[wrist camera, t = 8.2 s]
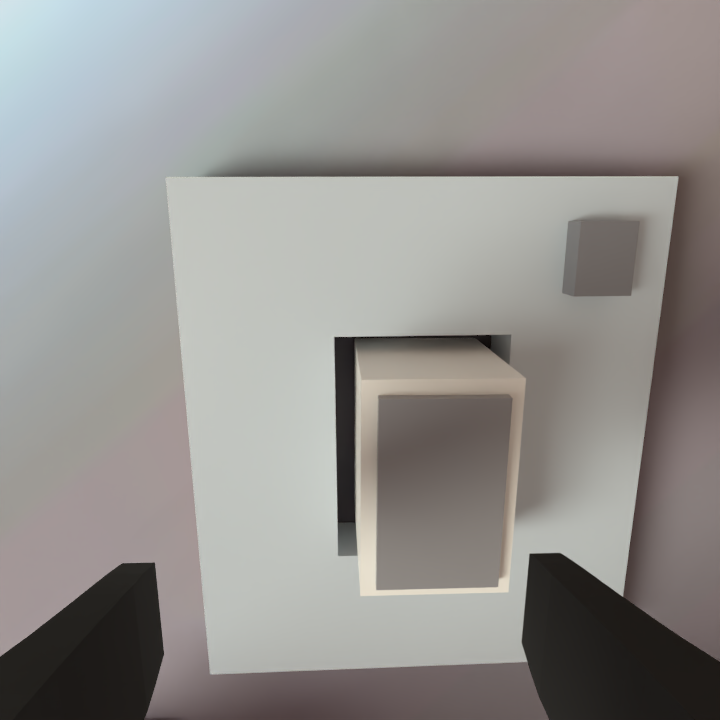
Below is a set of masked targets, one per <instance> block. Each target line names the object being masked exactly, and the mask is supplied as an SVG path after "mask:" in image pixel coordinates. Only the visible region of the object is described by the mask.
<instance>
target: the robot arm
mask: <svg viewBox="0 0 720 720" xmlns="http://www.w3.org/2000/svg"><path fill="white" fill-rule="evenodd" d="M521 643H522V646H523V649H524V652H525V655H526V658H527V662H528V665H529V668H530V671H531V674H532V677H533V680H534V683H535V686H536V689H537V692H538V695H539V697H540V700H541V702H542V704H543V706H544V709H545V711H546V713H547V715H548V718H549V720H720V662H719V661H717V660H716V659H714V658H713V657H711V656H710V655H708V654H707V653H705V652H703V651H702V650H700V649H699V648H697V647H696V646H694V645H692V644H691V643H689V642H688V641H686V640H685V639H683V638H682V637H680V636H679V635H677V634H676V633H674V632H673V631H671V630H670V629H668V628H667V627H665V626H664V625H662V624H661V623H659V622H658V621H656V620H655V619H653V618H652V617H651V616H649V615H648V614H646V613H645V612H643V611H642V610H641V609H639V608H638V607H636V606H635V605H634V604H632V603H631V602H629V601H628V600H627V599H625V598H624V597H622V596H621V595H620V594H618V593H617V592H615V591H614V590H613V589H611V588H610V587H609V586H607V585H606V584H604V583H603V582H602V581H600V580H599V579H597V578H596V577H595V576H593V575H592V574H591V573H589V572H588V571H586V570H585V569H584V568H582V567H581V566H579V565H578V564H577V563H575V562H574V561H572V560H571V559H569V558H568V557H566V556H565V555H563V554H561V553H531V554H529V564H528V576H527V587H526V598H525V609H524V620H523V631H522V642H521ZM163 656H164V650H163V640H162V630H161V620H160V610H159V600H158V590H157V580H156V570H155V563H123V564H121V565H119V566H118V567H117V568H115V569H114V570H112V571H111V572H110V573H108V574H107V575H106V576H104V577H103V578H102V579H101V580H99V581H98V582H97V583H96V584H94V585H93V586H92V587H90V588H89V589H88V590H87V591H85V592H84V593H83V594H82V595H80V596H79V597H78V598H77V599H75V600H74V601H73V602H72V603H70V604H69V605H68V606H67V607H65V608H64V609H63V610H61V611H60V612H59V613H58V614H56V615H55V616H54V617H52V618H51V619H50V620H49V621H47V622H46V623H45V624H43V625H42V626H41V627H40V628H38V629H37V630H36V631H34V632H33V633H32V634H31V635H29V636H28V637H27V638H25V639H24V640H23V641H21V642H20V643H18V644H17V645H16V646H14V647H13V648H12V649H10V650H9V651H7V652H6V653H5V654H3V655H2V656H0V720H144V718H145V716H146V713H147V711H148V708H149V704H150V701H151V698H152V694H153V691H154V688H155V684H156V681H157V677H158V674H159V670H160V666H161V663H162V659H163Z"/></svg>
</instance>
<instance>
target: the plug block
mask: <svg viewBox="0 0 720 720" xmlns="http://www.w3.org/2000/svg"><path fill="white" fill-rule="evenodd" d="M525 386H526V378H525V377H524V376H522V375H521V374H520V373H519V372H517V371H516V370H515V369H514V368H512V367H511V366H510V365H509V364H507V363H506V362H505V361H504V360H502V359H501V358H500V357H498V356H497V355H496V354H495V353H493V352H492V351H491V350H490V349H488V348H487V347H486V346H485V345H483V344H482V343H481V342H479V341H478V340H477V339H476V338H355V402H354V505H355V521H356V536H357V552H358V567H359V583H360V596H387V595H426V594H465V593H504V592H509V580H510V568H511V556H512V544H513V532H514V520H515V507H516V495H517V483H518V471H519V459H520V447H521V434H522V422H523V410H524V398H525Z"/></svg>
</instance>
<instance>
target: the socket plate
mask: <svg viewBox="0 0 720 720" xmlns="http://www.w3.org/2000/svg"><path fill="white" fill-rule="evenodd" d="M678 177H679V176H494V177H166V187H167V198H168V209H169V221H170V232H171V243H172V254H173V265H174V276H175V288H176V299H177V310H178V321H179V332H180V344H181V355H182V366H183V377H184V388H185V399H186V411H187V422H188V433H189V444H190V455H191V467H192V478H193V489H194V500H195V511H196V522H197V534H198V545H199V556H200V567H201V578H202V590H203V601H204V612H205V623H206V634H207V645H208V657H209V668H210V675H212V674H237V673H262V672H287V671H312V670H337V669H362V668H388V667H413V666H438V665H463V664H488V663H513V662H527V658H526V655H525V652H524V649H523V646H522V643H521V642H522V631H523V620H524V609H525V598H526V587H527V576H528V564H529V554H531V553H561V554H563V555H565V556H566V557H568V558H569V559H571V560H572V561H574V562H575V563H577V564H578V565H579V566H581V567H582V568H584V569H585V570H586V571H588V572H589V573H591V574H592V575H593V576H595V577H596V578H597V579H599V580H600V581H602V582H603V583H604V584H606V585H607V586H609V587H610V588H611V589H613V590H614V591H615V592H617V593H618V594H620V595H621V596H622V597H623V592H624V584H625V577H626V569H627V562H628V554H629V547H630V539H631V532H632V524H633V516H634V509H635V501H636V494H637V486H638V479H639V471H640V464H641V456H642V449H643V441H644V434H645V426H646V419H647V411H648V403H649V396H650V388H651V381H652V373H653V366H654V358H655V351H656V343H657V336H658V328H659V321H660V313H661V305H662V298H663V290H664V283H665V275H666V268H667V260H668V253H669V245H670V238H671V230H672V223H673V215H674V208H675V200H676V192H677V185H678ZM443 335H491V351H492V352H493V353H495V354H496V355H497V356H498V357H500V358H501V359H502V360H504V361H505V362H506V363H507V364H509V365H510V366H511V367H512V368H514V369H515V370H516V371H517V372H519V373H520V374H521V375H522V376H524V377H525V378H526V386H525V398H524V410H523V422H522V434H521V447H520V459H519V471H518V483H517V495H516V507H515V520H514V532H513V544H512V556H511V568H510V580H509V592H504V593H465V594H426V595H387V596H360V583H359V567H358V552H357V536H356V522H346V523H338V504H337V447H336V390H335V337H372V336H443Z"/></svg>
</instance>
